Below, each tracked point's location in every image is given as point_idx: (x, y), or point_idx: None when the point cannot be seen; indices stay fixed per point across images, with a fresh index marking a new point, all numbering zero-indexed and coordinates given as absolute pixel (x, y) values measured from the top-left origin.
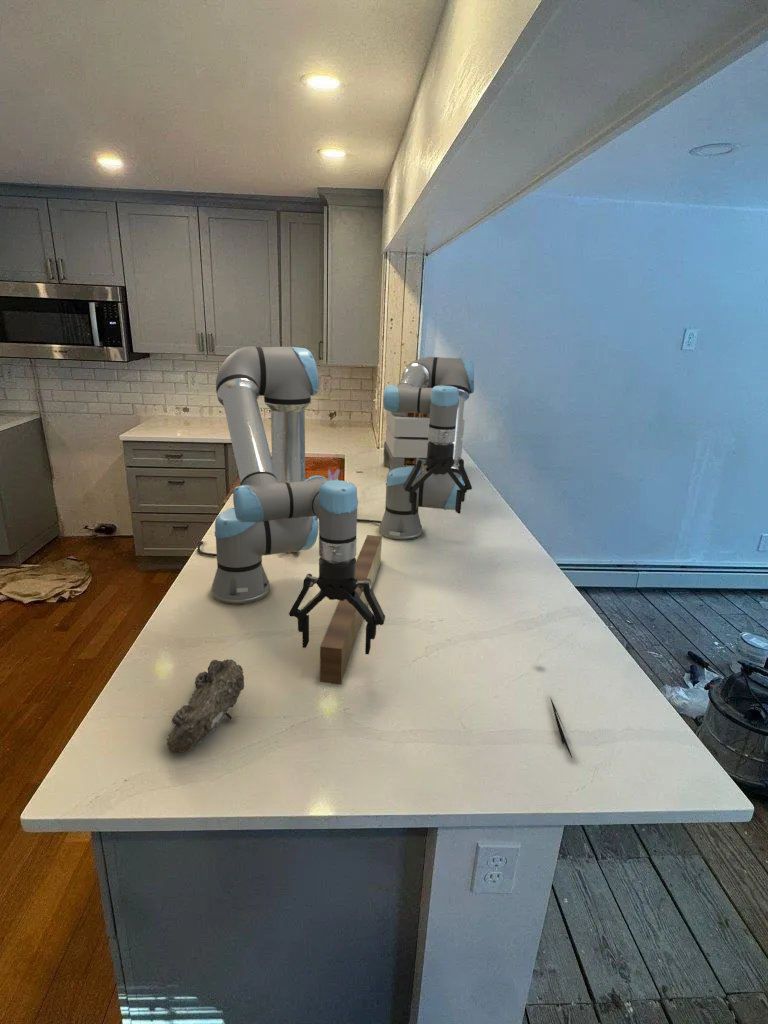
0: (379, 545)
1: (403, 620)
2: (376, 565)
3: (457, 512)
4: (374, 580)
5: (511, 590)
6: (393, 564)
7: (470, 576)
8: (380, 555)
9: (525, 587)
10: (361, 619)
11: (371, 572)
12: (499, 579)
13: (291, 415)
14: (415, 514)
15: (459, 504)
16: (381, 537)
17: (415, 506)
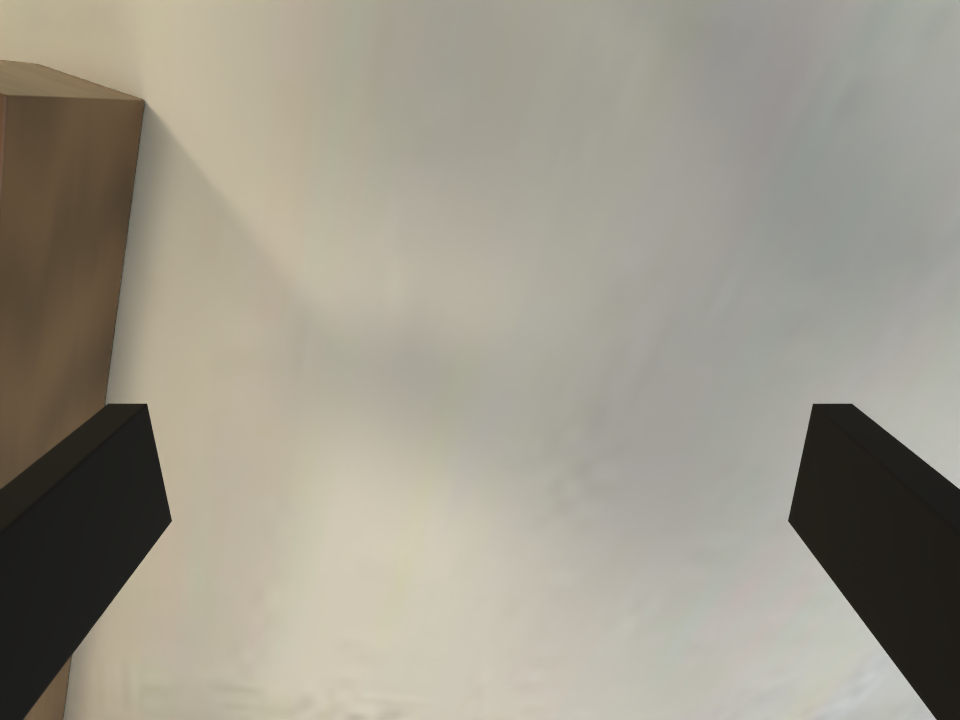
0: (16, 247)
1: (239, 701)
2: (73, 342)
3: (795, 508)
4: (106, 377)
5: None
6: (237, 153)
7: (689, 373)
8: (106, 133)
9: None
10: (60, 703)
11: None
12: None
13: None
14: (165, 525)
15: (877, 625)
16: (7, 122)
17: (90, 614)
